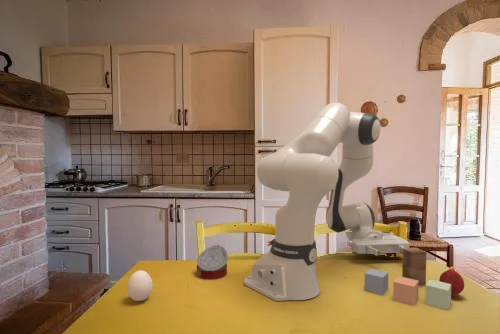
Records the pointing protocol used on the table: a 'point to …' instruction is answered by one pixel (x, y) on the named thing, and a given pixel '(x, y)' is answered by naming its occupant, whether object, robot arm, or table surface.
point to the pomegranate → (453, 281)
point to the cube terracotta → (405, 290)
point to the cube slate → (376, 281)
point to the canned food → (212, 263)
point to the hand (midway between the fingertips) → (391, 252)
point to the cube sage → (438, 294)
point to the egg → (139, 285)
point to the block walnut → (414, 265)
